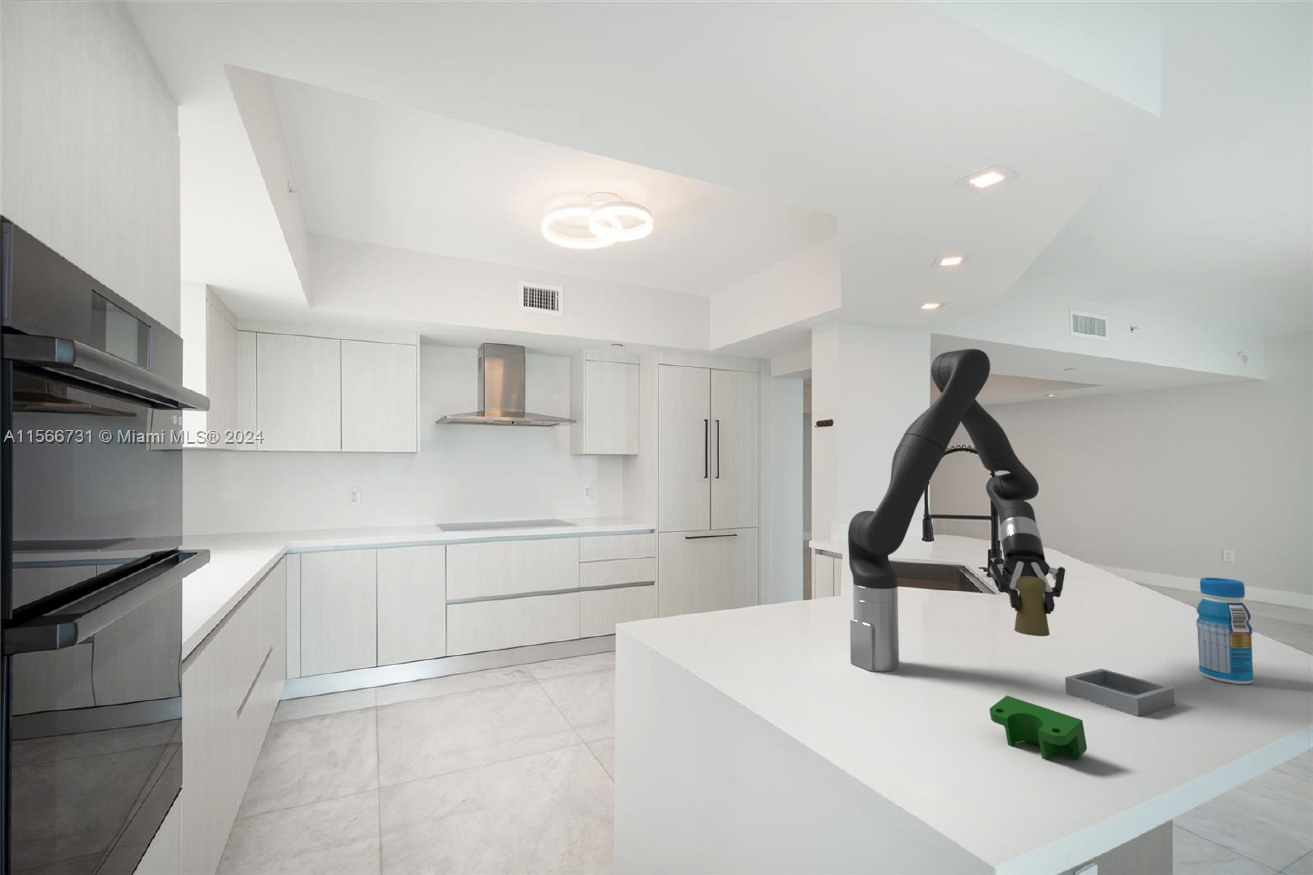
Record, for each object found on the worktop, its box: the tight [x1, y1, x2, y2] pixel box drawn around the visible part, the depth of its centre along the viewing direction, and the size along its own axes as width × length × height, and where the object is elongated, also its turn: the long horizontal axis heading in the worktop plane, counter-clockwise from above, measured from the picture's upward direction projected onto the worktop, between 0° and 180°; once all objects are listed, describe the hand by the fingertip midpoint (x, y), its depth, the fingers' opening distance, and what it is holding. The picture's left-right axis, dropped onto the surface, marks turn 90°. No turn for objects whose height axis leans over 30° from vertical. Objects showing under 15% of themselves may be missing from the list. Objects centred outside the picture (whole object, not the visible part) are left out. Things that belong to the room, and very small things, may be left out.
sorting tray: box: [1064, 668, 1176, 717], centre depth 113 cm, size 12×12×3 cm
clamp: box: [989, 695, 1088, 761], centre depth 93 cm, size 12×6×9 cm, turn 24°
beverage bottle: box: [1195, 577, 1255, 685], centre depth 125 cm, size 8×8×20 cm
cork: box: [1014, 576, 1050, 637], centre depth 122 cm, size 6×6×11 cm
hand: (1033, 610), depth 120 cm, fingers closed on cork, 4 cm apart
